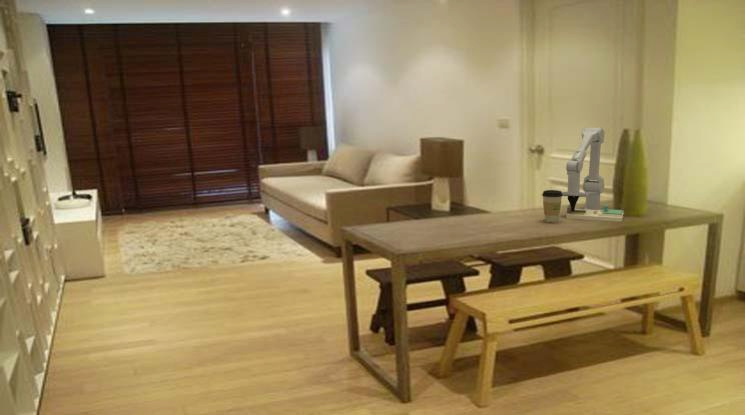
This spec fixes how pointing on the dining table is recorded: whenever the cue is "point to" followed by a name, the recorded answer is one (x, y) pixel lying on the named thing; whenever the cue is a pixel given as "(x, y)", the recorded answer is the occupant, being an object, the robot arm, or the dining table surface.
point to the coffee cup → (552, 205)
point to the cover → (611, 211)
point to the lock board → (594, 216)
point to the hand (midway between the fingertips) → (572, 210)
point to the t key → (574, 210)
